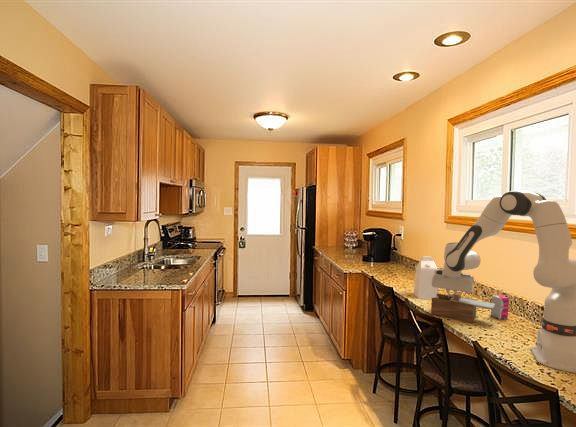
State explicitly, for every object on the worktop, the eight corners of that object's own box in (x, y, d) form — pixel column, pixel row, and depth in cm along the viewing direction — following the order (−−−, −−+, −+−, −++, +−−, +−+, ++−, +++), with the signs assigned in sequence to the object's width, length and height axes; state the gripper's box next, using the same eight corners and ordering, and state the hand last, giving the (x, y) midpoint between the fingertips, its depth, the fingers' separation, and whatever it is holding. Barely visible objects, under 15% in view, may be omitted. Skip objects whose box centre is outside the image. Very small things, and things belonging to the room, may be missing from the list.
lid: (492, 309, 174) (493, 302, 174) (449, 302, 186) (449, 295, 186) (494, 305, 182) (495, 298, 182) (452, 298, 193) (453, 292, 193)
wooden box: (472, 323, 178) (473, 305, 178) (431, 314, 190) (431, 297, 190) (475, 317, 188) (476, 299, 188) (436, 309, 200) (437, 293, 199)
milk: (432, 294, 231) (434, 255, 230) (438, 299, 220) (440, 258, 219) (413, 293, 233) (415, 254, 232) (418, 298, 221) (420, 257, 220)
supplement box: (499, 319, 185) (500, 298, 185) (490, 316, 191) (491, 295, 190) (508, 319, 187) (509, 297, 186) (498, 315, 192) (499, 294, 192)
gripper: (475, 274, 185) (473, 300, 186) (434, 268, 197) (433, 293, 198) (473, 276, 180) (472, 302, 181) (431, 270, 192) (430, 295, 193)
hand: (451, 297), depth 189 cm, fingers closed
